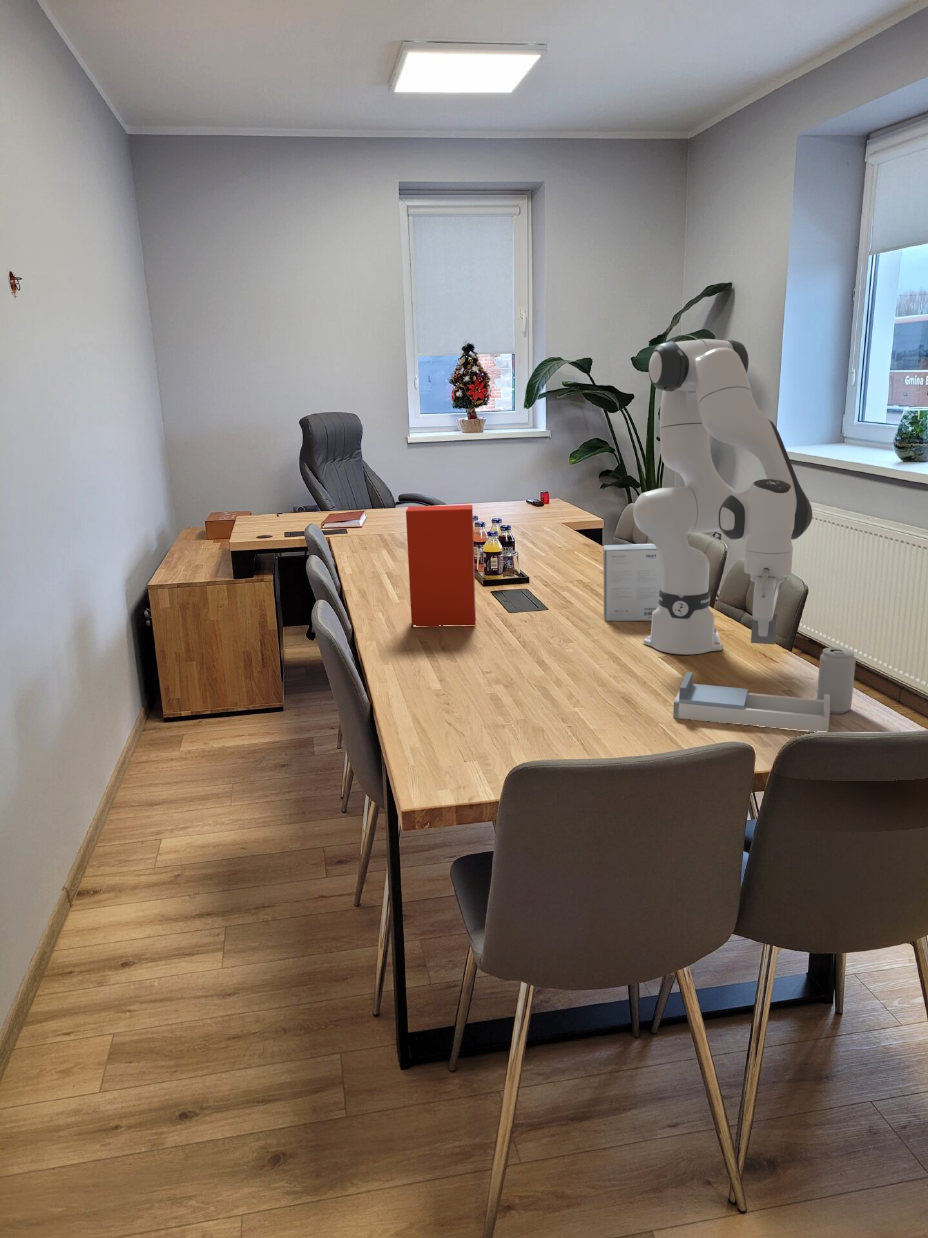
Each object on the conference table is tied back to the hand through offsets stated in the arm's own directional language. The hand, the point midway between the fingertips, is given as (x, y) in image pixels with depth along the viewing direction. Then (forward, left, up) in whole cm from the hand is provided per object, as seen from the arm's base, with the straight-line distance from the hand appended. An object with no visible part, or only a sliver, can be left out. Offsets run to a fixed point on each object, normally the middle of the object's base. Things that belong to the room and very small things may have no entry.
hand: (764, 631), depth 177 cm
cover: (+11, -8, -11) cm, 18 cm away
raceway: (+11, -1, -14) cm, 18 cm away
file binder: (-35, -85, -15) cm, 93 cm away
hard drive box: (-54, -37, -15) cm, 67 cm away
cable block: (0, 0, -2) cm, 2 cm away
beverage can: (+2, +14, -15) cm, 20 cm away
